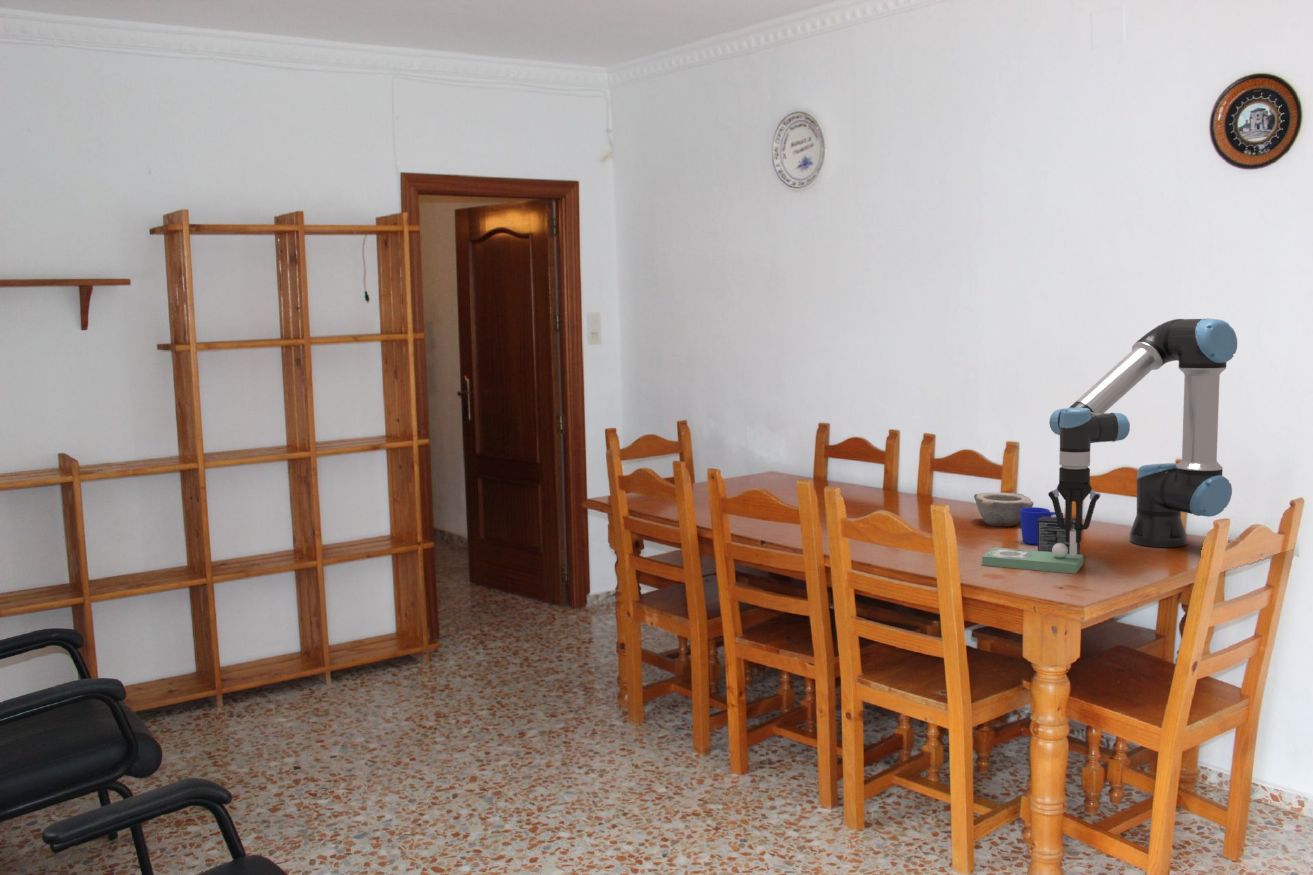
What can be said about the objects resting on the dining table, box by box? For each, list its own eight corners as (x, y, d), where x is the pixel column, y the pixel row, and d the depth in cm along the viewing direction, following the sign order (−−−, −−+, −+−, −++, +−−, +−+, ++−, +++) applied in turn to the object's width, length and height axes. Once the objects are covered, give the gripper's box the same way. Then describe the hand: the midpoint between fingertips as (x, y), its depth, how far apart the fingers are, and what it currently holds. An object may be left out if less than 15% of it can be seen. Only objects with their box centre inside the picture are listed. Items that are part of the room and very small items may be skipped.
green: (1083, 563, 285) (1083, 554, 284) (1075, 573, 274) (1075, 564, 274) (992, 555, 297) (992, 547, 297) (982, 565, 287) (982, 556, 286)
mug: (1065, 546, 306) (1065, 512, 304) (1021, 545, 308) (1022, 512, 307) (1060, 540, 314) (1060, 507, 312) (1018, 539, 316) (1018, 507, 315)
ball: (1069, 556, 283) (1069, 542, 282) (1066, 560, 279) (1066, 545, 279) (1053, 555, 285) (1053, 541, 284) (1050, 558, 281) (1050, 544, 281)
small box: (1080, 554, 295) (1081, 517, 294) (1076, 559, 290) (1077, 522, 289) (1041, 551, 301) (1041, 515, 300) (1036, 556, 295) (1037, 519, 294)
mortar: (1035, 529, 330) (1036, 500, 329) (980, 529, 332) (980, 500, 331) (1024, 519, 346) (1024, 491, 345) (971, 519, 349) (971, 491, 348)
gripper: (1103, 465, 277) (1101, 553, 280) (1051, 463, 284) (1050, 549, 286) (1099, 469, 271) (1097, 559, 273) (1046, 467, 277) (1044, 555, 280)
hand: (1073, 554), depth 280 cm, fingers closed
